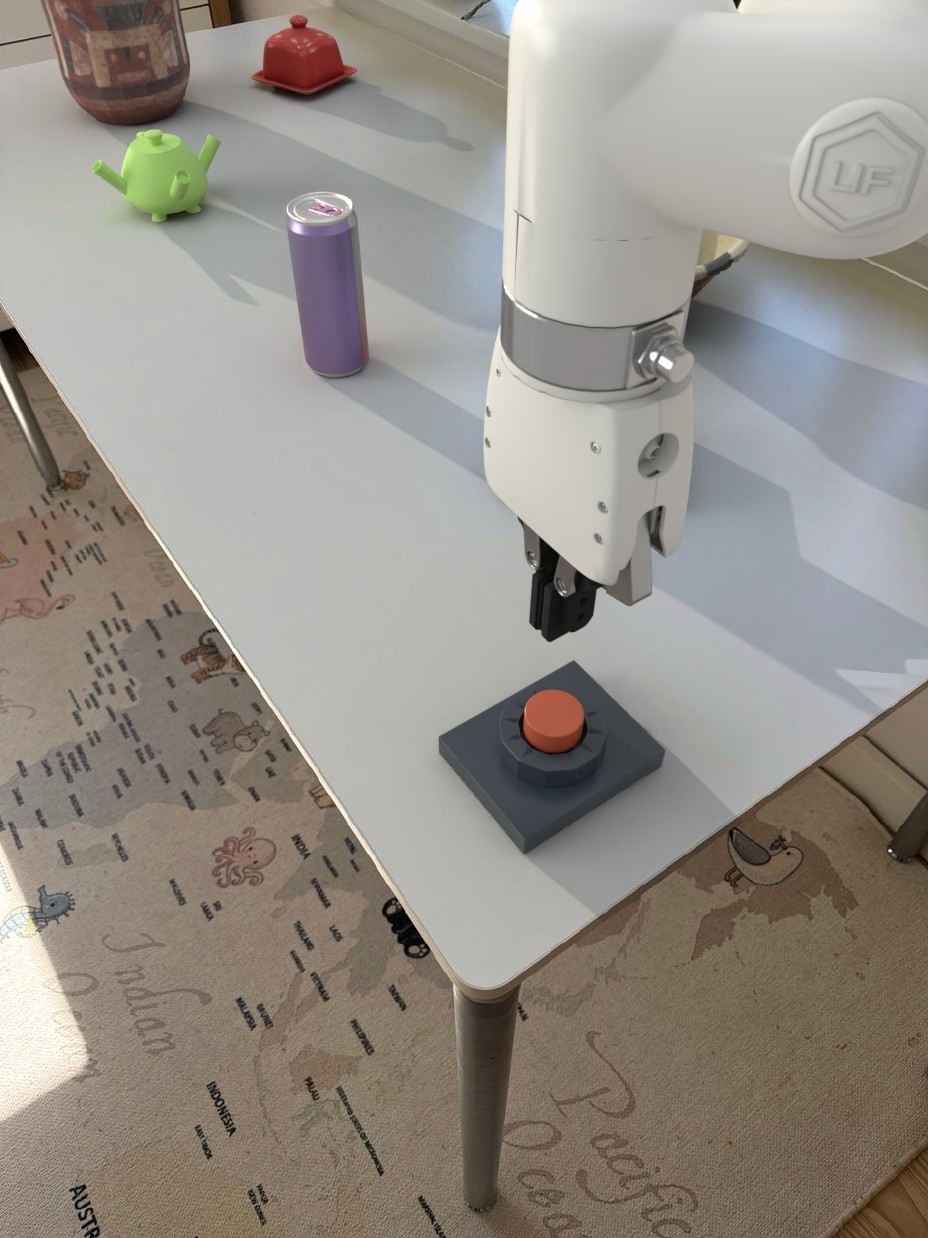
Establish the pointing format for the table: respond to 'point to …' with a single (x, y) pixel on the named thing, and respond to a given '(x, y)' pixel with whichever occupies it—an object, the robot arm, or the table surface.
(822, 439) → the table surface
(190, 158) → the teapot
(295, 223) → the beverage can
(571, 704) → the release button
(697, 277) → the bowl
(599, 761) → the box
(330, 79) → the butter dish
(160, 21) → the pottery
